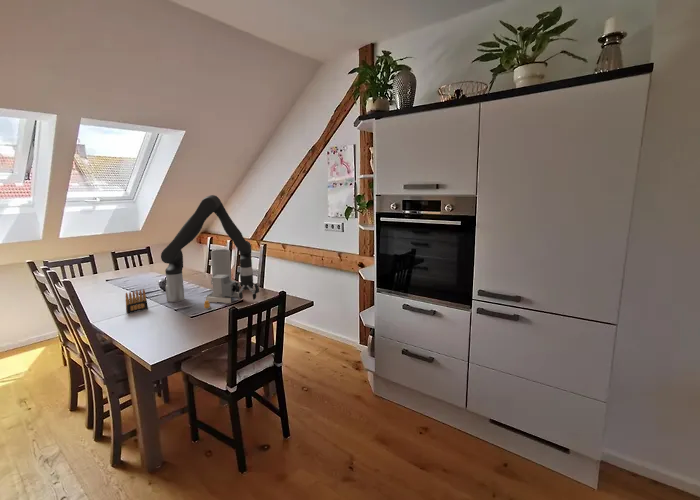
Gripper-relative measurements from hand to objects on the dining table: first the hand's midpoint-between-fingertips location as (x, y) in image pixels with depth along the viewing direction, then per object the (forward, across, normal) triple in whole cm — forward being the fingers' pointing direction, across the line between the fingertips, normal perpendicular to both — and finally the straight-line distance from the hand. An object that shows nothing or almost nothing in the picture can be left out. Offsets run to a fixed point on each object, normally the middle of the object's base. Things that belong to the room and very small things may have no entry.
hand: (247, 298), depth 222 cm
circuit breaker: (+1, -14, 0) cm, 14 cm away
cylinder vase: (+1, -32, +27) cm, 42 cm away
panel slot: (+1, -16, 0) cm, 16 cm away
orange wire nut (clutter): (+1, -18, -15) cm, 24 cm away
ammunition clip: (+1, -55, -27) cm, 61 cm away
